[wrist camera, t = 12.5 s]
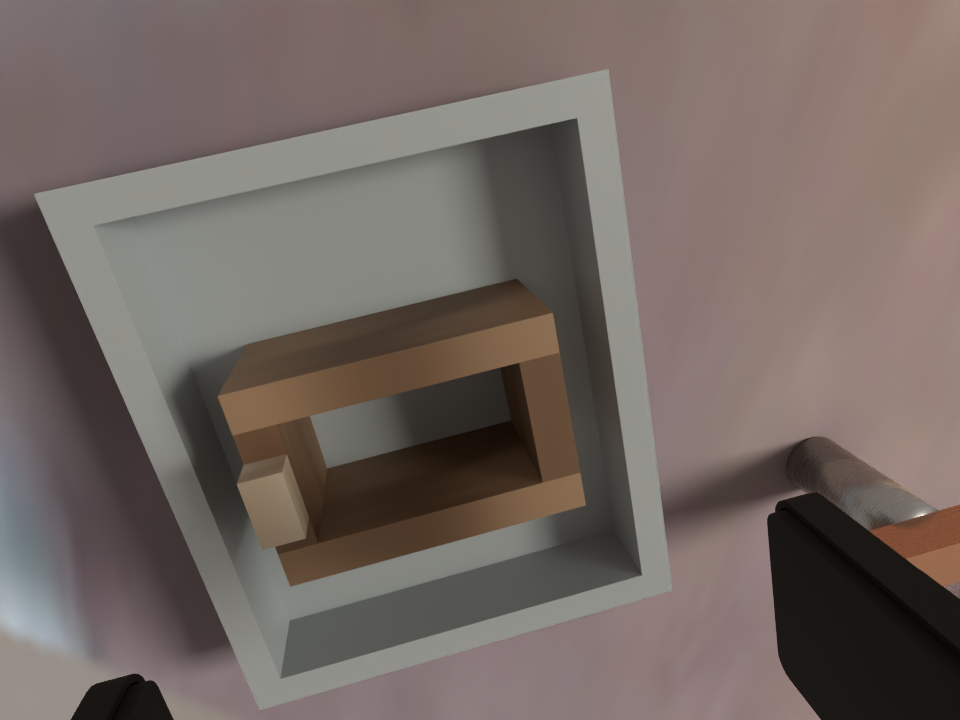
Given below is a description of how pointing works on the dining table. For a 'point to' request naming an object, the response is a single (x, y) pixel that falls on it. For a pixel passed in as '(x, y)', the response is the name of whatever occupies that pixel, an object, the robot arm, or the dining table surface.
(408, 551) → the collar
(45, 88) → the dining table surface
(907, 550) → the brown grey t-shaped piece
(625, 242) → the tray
